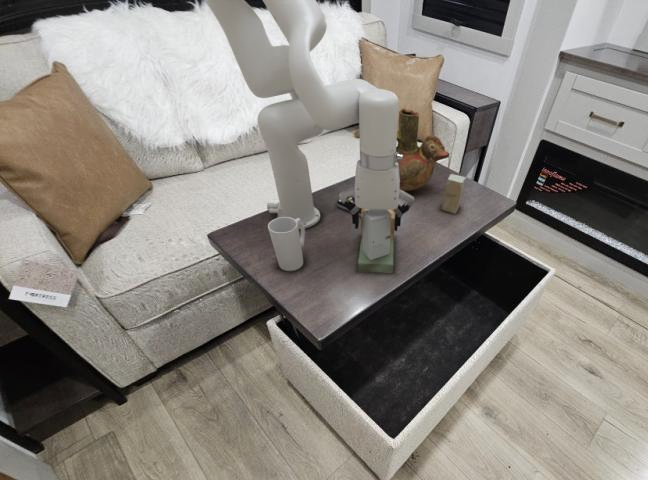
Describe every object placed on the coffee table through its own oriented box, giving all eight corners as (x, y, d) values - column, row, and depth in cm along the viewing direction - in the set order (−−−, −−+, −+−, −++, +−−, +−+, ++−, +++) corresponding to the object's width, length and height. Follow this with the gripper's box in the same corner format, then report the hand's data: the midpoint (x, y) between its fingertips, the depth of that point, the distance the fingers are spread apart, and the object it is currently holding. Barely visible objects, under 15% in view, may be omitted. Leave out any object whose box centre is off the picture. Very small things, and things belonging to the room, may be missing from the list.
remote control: (366, 219, 105) (366, 214, 103) (335, 206, 109) (334, 200, 107) (378, 211, 108) (378, 206, 107) (347, 198, 113) (347, 193, 111)
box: (441, 210, 111) (446, 178, 103) (444, 204, 114) (450, 172, 106) (456, 214, 110) (462, 182, 102) (459, 208, 113) (466, 176, 105)
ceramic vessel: (439, 205, 113) (452, 127, 95) (365, 192, 116) (365, 114, 98) (446, 182, 125) (458, 109, 107) (379, 171, 128) (380, 97, 110)
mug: (292, 275, 85) (283, 236, 76) (272, 266, 87) (261, 226, 78) (317, 254, 91) (312, 216, 83) (298, 246, 93) (290, 208, 85)
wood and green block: (358, 271, 88) (357, 240, 80) (362, 235, 99) (362, 205, 92) (392, 273, 88) (394, 242, 81) (393, 237, 99) (395, 207, 92)
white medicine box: (370, 261, 86) (370, 220, 78) (362, 251, 89) (361, 211, 80) (390, 253, 89) (392, 213, 80) (381, 244, 91) (383, 205, 83)
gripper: (417, 153, 74) (410, 220, 86) (338, 148, 73) (343, 216, 85) (419, 169, 69) (411, 237, 81) (334, 163, 68) (339, 233, 80)
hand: (376, 226), depth 83 cm, fingers open, 9 cm apart
